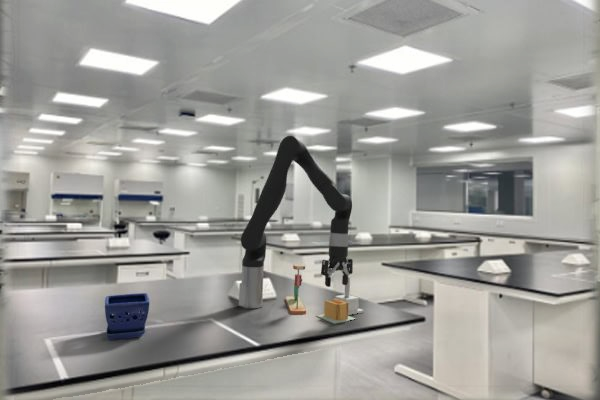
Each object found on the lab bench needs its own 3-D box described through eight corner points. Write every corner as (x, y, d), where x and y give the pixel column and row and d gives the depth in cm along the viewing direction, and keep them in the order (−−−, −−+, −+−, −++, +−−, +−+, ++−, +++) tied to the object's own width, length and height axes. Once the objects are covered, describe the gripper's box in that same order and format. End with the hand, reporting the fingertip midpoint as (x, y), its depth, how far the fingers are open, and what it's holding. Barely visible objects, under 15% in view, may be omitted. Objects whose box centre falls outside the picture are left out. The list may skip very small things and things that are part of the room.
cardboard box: (337, 320, 153) (337, 304, 153) (324, 315, 160) (324, 300, 160) (347, 318, 156) (348, 303, 156) (334, 313, 163) (335, 298, 163)
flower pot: (102, 343, 122) (103, 304, 123) (104, 330, 135) (105, 294, 135) (148, 338, 128) (150, 301, 128) (146, 326, 140) (147, 292, 140)
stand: (345, 315, 162) (346, 279, 162) (329, 309, 170) (330, 275, 170) (363, 312, 167) (364, 277, 167) (347, 306, 176) (348, 273, 176)
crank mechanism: (306, 314, 162) (308, 266, 162) (290, 314, 161) (291, 266, 161) (299, 299, 187) (300, 258, 187) (285, 299, 186) (286, 257, 186)
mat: (334, 323, 150) (334, 322, 150) (316, 316, 159) (316, 315, 159) (355, 319, 157) (355, 318, 157) (337, 312, 166) (337, 311, 166)
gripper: (345, 243, 165) (343, 282, 165) (318, 243, 157) (316, 285, 157) (358, 245, 159) (356, 286, 159) (330, 246, 151) (328, 289, 151)
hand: (336, 285), depth 158 cm, fingers open, 8 cm apart
